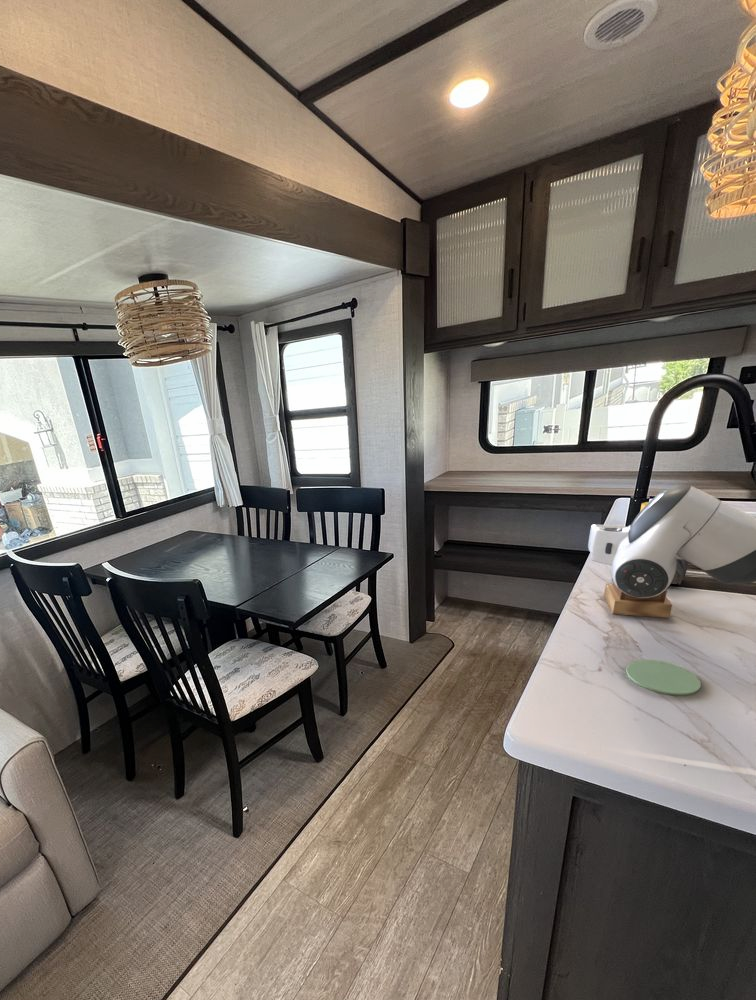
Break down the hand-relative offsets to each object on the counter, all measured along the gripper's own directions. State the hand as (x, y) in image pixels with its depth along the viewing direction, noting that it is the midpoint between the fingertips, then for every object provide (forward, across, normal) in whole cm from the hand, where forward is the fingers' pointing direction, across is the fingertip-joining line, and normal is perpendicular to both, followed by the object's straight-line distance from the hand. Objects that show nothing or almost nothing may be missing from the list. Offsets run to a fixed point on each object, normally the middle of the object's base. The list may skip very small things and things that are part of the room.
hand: (651, 530), depth 95 cm
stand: (0, 0, +17) cm, 17 cm away
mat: (-29, -6, +17) cm, 34 cm away
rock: (+18, -1, +17) cm, 24 cm away
